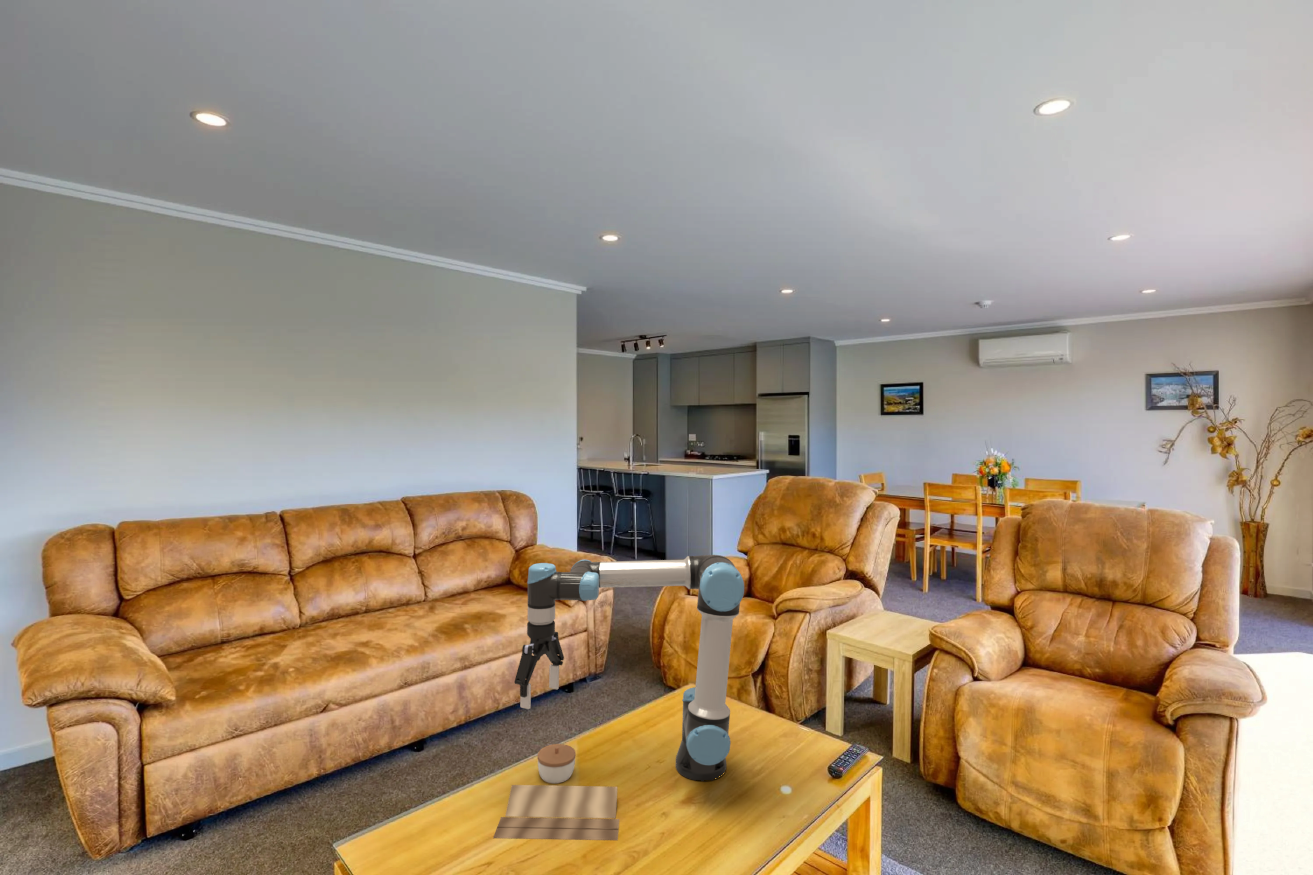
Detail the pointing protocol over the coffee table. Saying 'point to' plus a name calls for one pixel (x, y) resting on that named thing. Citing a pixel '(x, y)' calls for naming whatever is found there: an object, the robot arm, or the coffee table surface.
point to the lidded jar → (556, 763)
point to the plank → (562, 801)
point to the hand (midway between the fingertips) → (540, 697)
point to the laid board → (557, 828)
